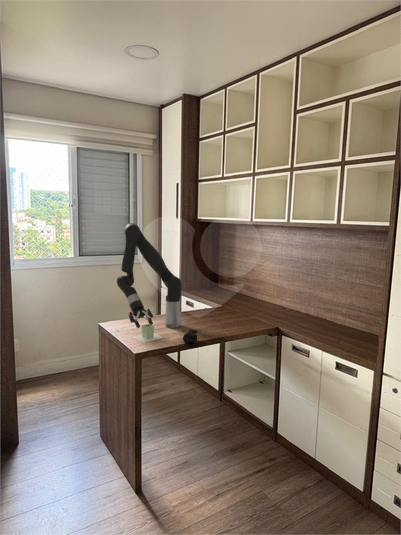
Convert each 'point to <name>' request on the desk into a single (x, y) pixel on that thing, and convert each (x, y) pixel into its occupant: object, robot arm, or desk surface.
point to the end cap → (190, 337)
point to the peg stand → (147, 339)
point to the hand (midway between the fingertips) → (145, 326)
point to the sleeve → (147, 331)
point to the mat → (126, 328)
